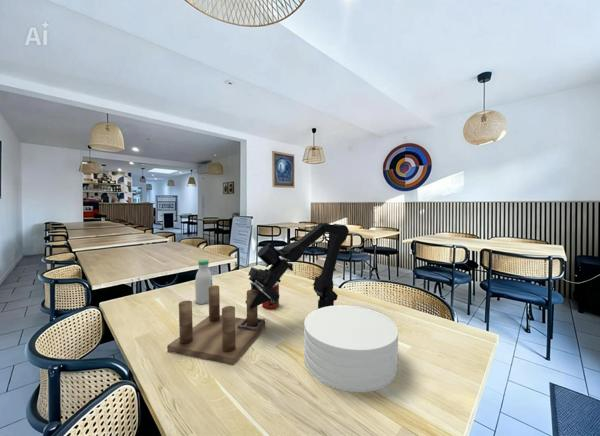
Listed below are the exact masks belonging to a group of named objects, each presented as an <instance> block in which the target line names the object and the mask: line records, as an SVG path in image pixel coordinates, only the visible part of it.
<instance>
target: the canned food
mask: <svg viewBox="0 0 600 436" xmlns="http://www.w3.org/2000/svg"><path fill="white" fill-rule="evenodd" d="M273 289H274V290H275V291H276V292H277V293H278V294H279V295H280V283H279V282H277V283H276V284H275V285H274V287H273ZM270 299H271V301H270V300H269V301H267V302H264V303H262V304H261V306H262V307H263V308H264V309H266V310H274V309H277V308H279V305H280V298H279V299H278V300H277V302H275V301H274V300H273V299H272V298H270Z"/></svg>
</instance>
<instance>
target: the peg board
mask: <svg viewBox="0 0 600 436" xmlns="http://www.w3.org/2000/svg"><path fill="white" fill-rule="evenodd" d="M220 296H221V295H220V286H219V285H212V286H210V287H209V303H208V315H207V317H205V318H204V319H203V320H201V321H200V322H199V323H197V324H195V325H194V326H193V301H192V300H182V301H180V302H179V303H178V322H179V325H178V326H179V328H178V329H179V337H178V338H175V340H173V341H171V342H170V343H169V344H167V352H168V353H174V354H179V355H184V356H189V357H194V358H199V359H203V360H204V359H205V360H210V361H214V362H219V363H224V364H231V365H235V364H236V363H237V362H238V360H239V359H240V358H241V357H242V355H243V354H245V352H246V351H247V349H249V347H251V345H252V343H254V341H256V339H257V338H258V337H259V336H260V334H261V333H262V332H263V331H264V329H265V328H266V327H267V325H266V323H267V322H266V319H265V318H264V319H263V318H258V325H257V326H256V327H249V326H247V317H246V318H242V317H236V307H235V306H233V305H227V306H223V307H222V308H220V304H221V303H220V301H221V299H220ZM220 313H221V314H220Z"/></svg>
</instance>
